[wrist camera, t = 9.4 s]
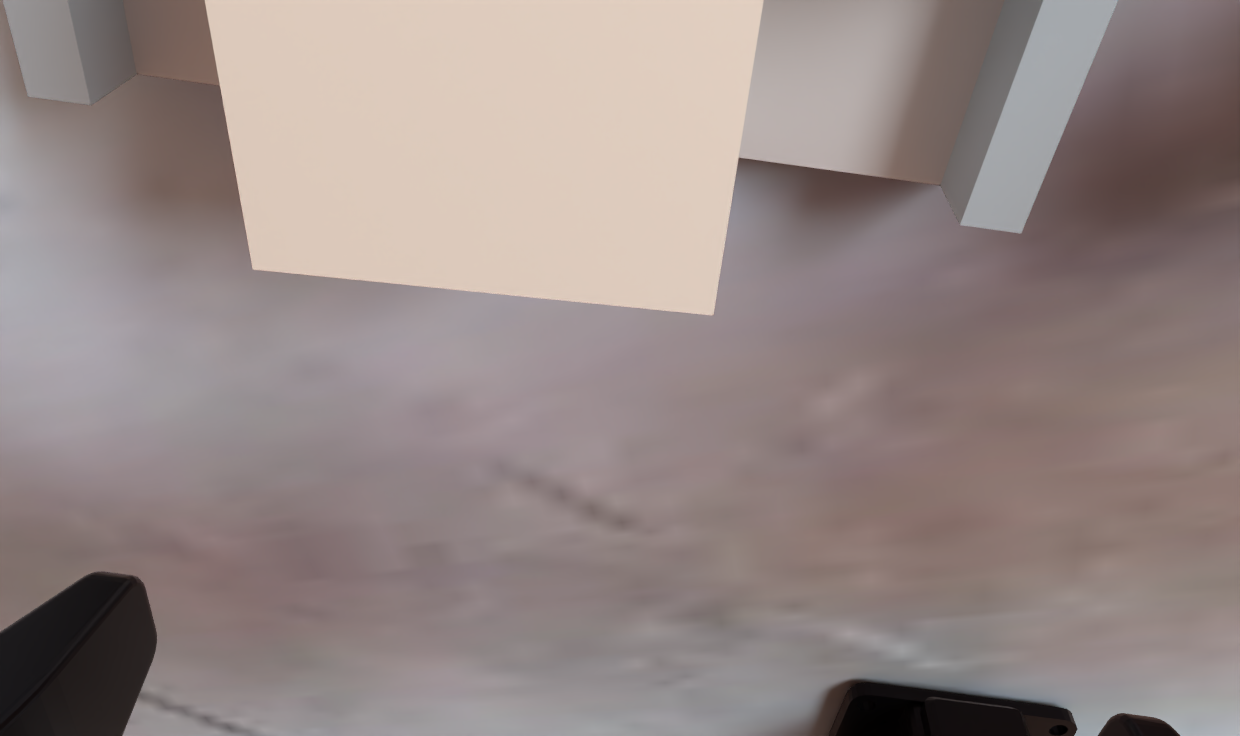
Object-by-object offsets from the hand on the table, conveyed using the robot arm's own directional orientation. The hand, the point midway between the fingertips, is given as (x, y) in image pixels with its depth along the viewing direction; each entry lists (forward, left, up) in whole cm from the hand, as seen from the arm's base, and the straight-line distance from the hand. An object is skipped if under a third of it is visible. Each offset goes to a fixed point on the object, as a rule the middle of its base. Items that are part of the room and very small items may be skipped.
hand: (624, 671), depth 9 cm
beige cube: (+4, +2, -10) cm, 11 cm away
